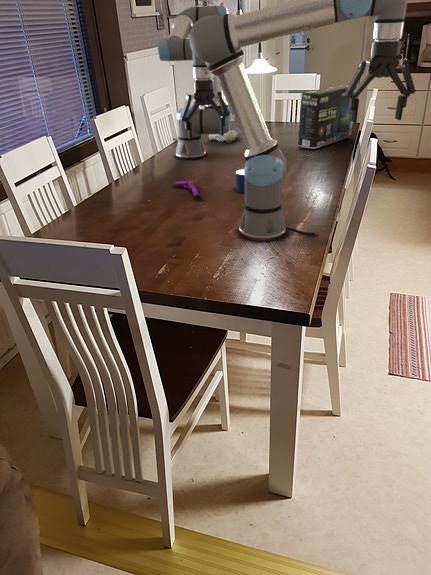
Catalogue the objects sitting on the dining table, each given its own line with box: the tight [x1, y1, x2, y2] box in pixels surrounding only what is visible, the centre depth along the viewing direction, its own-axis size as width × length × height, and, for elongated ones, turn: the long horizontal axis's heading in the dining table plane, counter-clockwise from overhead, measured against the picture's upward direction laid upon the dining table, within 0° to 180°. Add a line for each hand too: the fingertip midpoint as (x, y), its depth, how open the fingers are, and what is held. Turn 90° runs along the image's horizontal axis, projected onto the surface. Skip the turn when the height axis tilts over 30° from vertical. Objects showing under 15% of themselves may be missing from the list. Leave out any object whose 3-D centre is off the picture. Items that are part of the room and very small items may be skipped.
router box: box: [297, 84, 358, 151], centre depth 238 cm, size 36×11×27 cm, turn 134°
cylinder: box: [235, 168, 245, 194], centre depth 184 cm, size 8×8×7 cm
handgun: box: [174, 179, 200, 201], centre depth 185 cm, size 21×8×2 cm, turn 11°
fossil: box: [208, 126, 241, 144], centre depth 258 cm, size 18×11×15 cm
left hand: (205, 136), depth 185 cm, fingers open, 13 cm apart
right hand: (375, 120), depth 138 cm, fingers open, 13 cm apart
